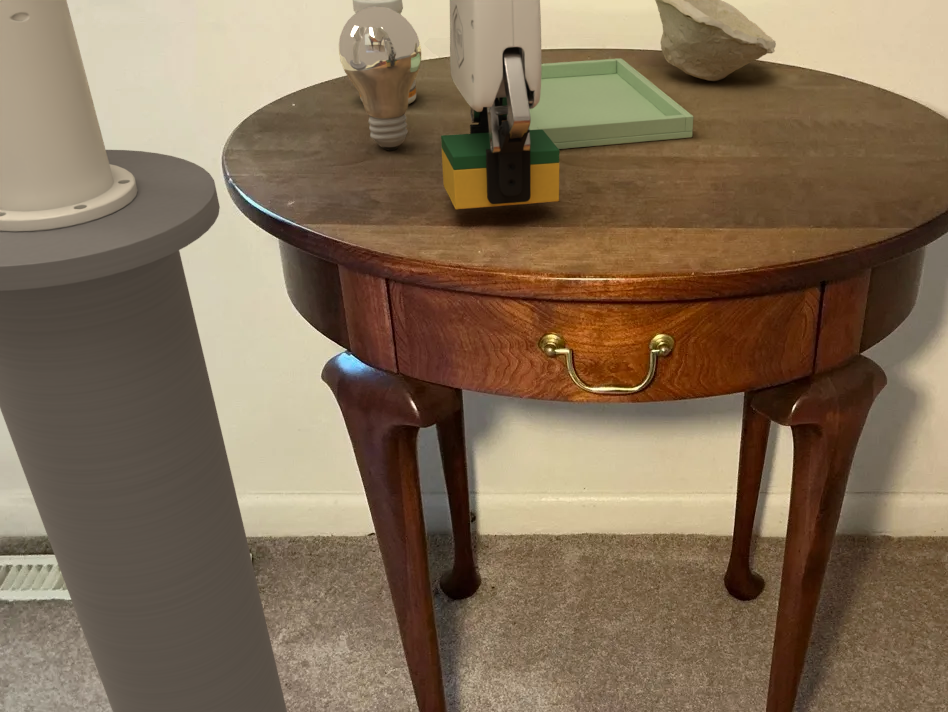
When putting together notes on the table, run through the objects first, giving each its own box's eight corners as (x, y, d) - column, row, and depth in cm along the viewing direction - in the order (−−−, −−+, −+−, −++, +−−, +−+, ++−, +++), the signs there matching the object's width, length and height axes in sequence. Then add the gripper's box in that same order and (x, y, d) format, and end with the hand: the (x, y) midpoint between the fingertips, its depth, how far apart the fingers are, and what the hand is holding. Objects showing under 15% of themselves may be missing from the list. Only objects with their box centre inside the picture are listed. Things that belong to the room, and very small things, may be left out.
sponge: (455, 209, 78) (452, 156, 76) (443, 186, 82) (440, 135, 80) (559, 201, 80) (559, 149, 78) (542, 178, 84) (542, 129, 82)
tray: (530, 151, 95) (530, 129, 94) (481, 86, 112) (480, 67, 110) (692, 137, 99) (693, 116, 97) (621, 76, 116) (621, 58, 114)
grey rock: (781, 98, 110) (792, -5, 104) (647, 96, 109) (650, -7, 104) (763, 61, 122) (772, -33, 116) (643, 59, 122) (646, -35, 116)
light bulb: (445, 145, 96) (434, 5, 89) (392, 167, 91) (377, 20, 84) (388, 132, 99) (374, -5, 92) (334, 151, 94) (315, 9, 87)
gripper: (419, -92, 76) (433, 154, 87) (464, -51, 63) (474, 235, 73) (519, -93, 78) (521, 149, 89) (584, -52, 65) (577, 226, 75)
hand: (500, 185), depth 81 cm, fingers closed on sponge, 5 cm apart
